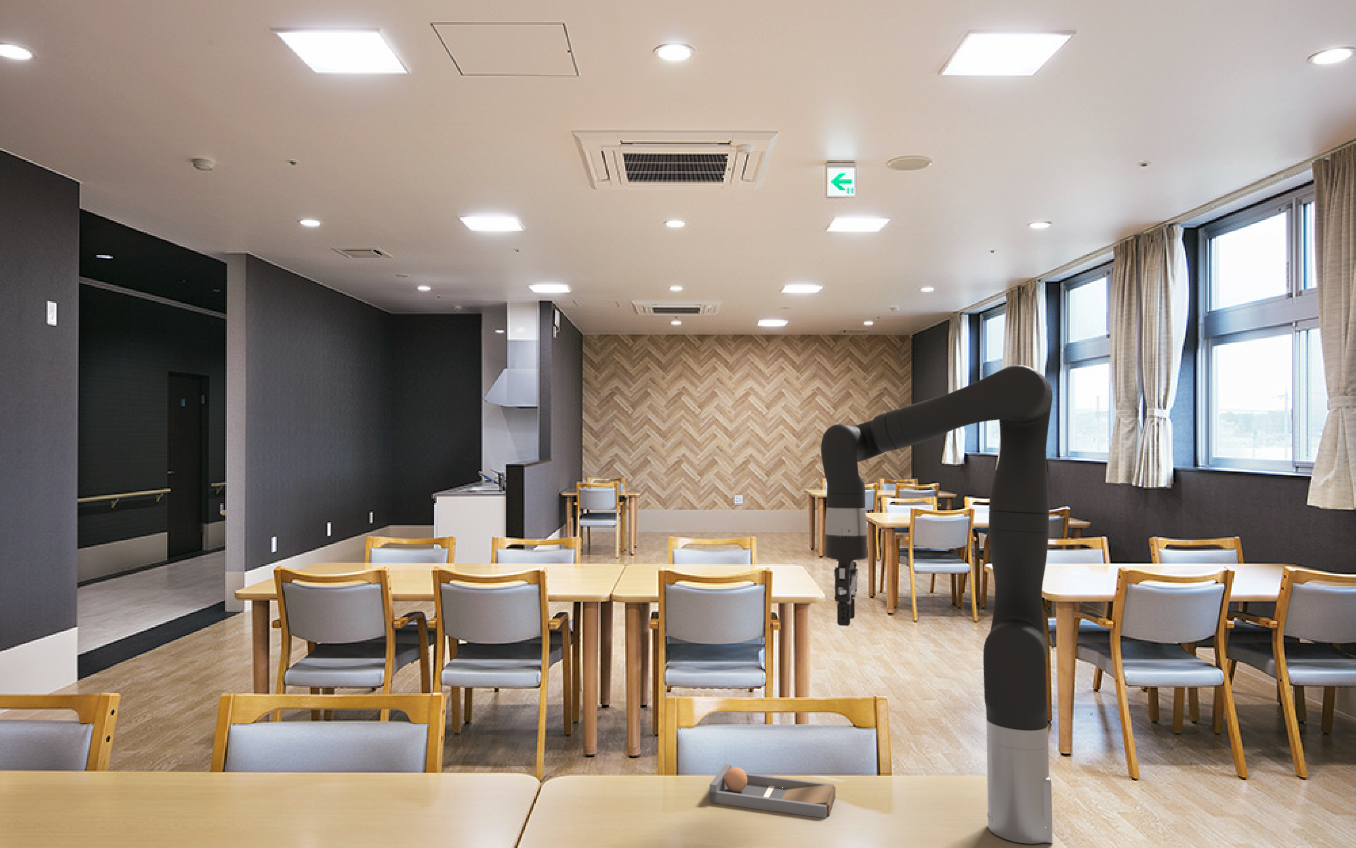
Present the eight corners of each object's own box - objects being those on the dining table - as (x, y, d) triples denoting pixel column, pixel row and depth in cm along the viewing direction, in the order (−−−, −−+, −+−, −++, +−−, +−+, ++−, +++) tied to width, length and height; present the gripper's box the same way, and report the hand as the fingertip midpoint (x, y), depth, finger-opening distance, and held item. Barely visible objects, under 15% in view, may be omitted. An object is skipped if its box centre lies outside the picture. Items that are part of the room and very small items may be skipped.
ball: (750, 766, 145) (728, 762, 146) (745, 774, 141) (723, 769, 142) (748, 789, 145) (726, 784, 146) (743, 797, 141) (721, 792, 142)
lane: (833, 794, 143) (833, 777, 144) (826, 818, 133) (826, 799, 133) (724, 780, 149) (725, 764, 150) (709, 802, 139) (709, 784, 139)
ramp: (835, 801, 142) (835, 784, 142) (829, 820, 134) (829, 802, 134) (786, 795, 145) (786, 778, 145) (778, 813, 137) (778, 795, 137)
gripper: (863, 535, 141) (864, 629, 140) (869, 531, 154) (870, 617, 153) (820, 534, 143) (820, 626, 142) (830, 530, 157) (830, 614, 155)
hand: (846, 621), depth 147 cm, fingers open, 8 cm apart
